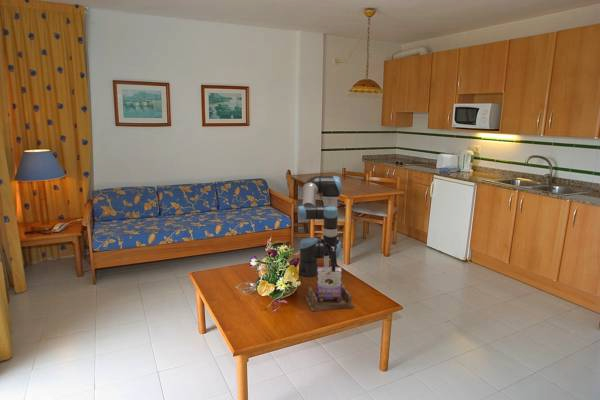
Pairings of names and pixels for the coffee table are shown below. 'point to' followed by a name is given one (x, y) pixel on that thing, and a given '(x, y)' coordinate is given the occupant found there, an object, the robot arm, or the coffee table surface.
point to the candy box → (329, 283)
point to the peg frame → (328, 300)
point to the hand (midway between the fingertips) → (329, 271)
